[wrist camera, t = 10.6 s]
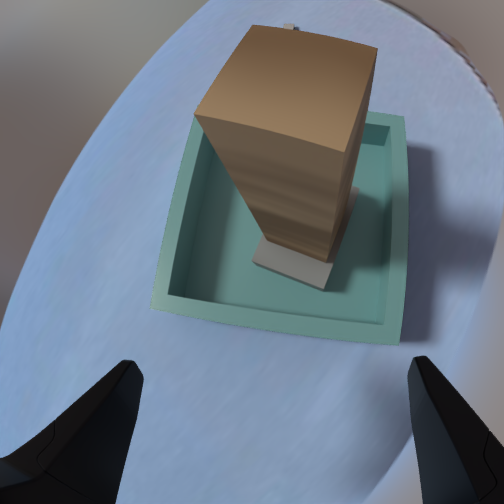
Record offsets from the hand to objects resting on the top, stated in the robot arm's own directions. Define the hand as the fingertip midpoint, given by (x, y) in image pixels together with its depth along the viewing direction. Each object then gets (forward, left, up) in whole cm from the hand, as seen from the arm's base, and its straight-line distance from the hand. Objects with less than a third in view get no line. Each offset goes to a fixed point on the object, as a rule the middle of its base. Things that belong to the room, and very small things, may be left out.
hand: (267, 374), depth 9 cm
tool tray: (+8, +1, -10) cm, 13 cm away
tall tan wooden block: (+7, 0, -9) cm, 12 cm away
